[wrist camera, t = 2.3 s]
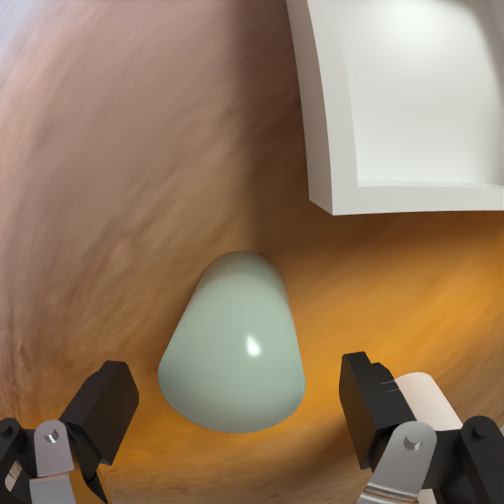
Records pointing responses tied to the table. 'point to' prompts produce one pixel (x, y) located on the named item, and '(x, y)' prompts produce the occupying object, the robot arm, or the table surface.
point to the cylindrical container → (427, 411)
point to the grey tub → (401, 103)
